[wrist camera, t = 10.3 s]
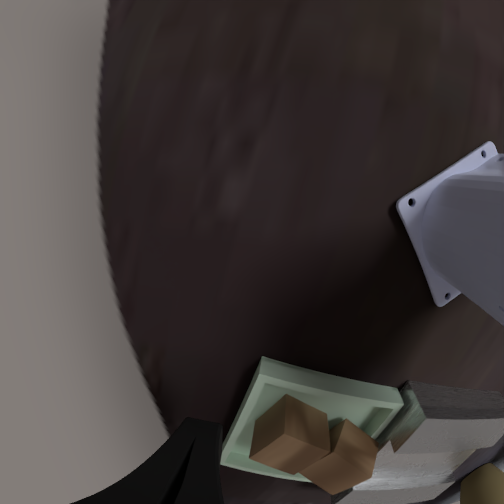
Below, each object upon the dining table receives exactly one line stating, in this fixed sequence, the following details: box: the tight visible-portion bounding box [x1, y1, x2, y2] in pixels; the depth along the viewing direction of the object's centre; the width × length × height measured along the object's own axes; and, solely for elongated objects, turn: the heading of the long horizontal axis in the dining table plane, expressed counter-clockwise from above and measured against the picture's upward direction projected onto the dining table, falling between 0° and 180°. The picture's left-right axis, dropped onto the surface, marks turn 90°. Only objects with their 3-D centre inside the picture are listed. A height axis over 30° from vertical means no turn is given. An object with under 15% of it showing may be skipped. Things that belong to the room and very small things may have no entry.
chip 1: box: [249, 394, 331, 475], centre depth 17 cm, size 4×4×4 cm
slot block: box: [331, 380, 504, 504], centre depth 17 cm, size 14×14×4 cm
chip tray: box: [220, 356, 404, 482], centre depth 19 cm, size 11×12×2 cm
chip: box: [298, 418, 379, 495], centre depth 17 cm, size 4×4×4 cm
